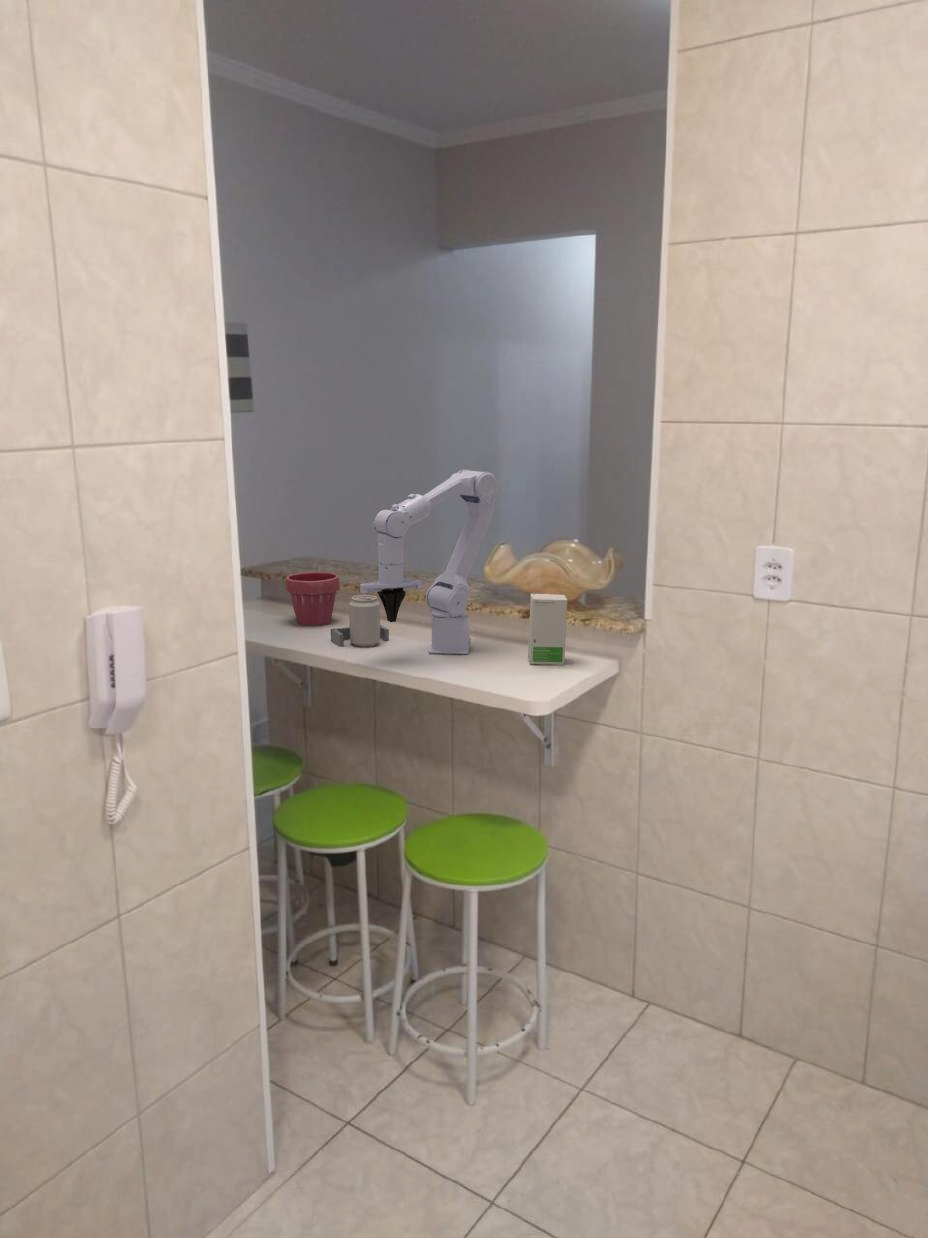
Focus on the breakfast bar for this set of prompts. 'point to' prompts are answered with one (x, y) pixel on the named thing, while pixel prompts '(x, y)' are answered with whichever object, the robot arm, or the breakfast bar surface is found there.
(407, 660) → the breakfast bar surface
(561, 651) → the skincare box
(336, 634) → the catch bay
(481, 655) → the breakfast bar surface
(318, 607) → the plant pot
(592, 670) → the breakfast bar surface
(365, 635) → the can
